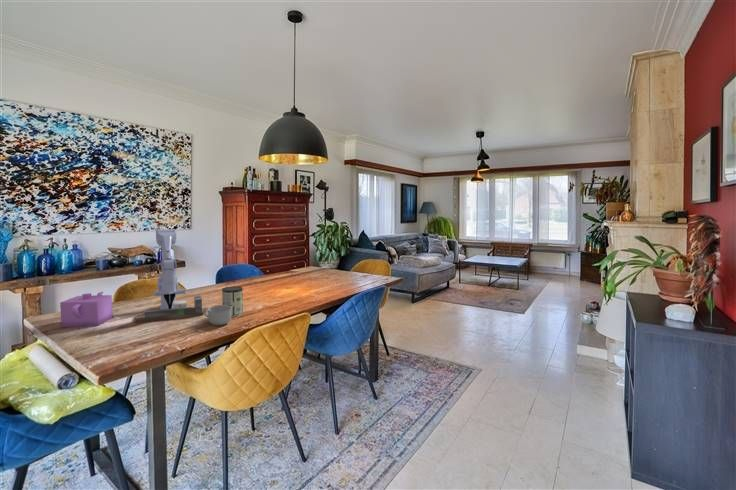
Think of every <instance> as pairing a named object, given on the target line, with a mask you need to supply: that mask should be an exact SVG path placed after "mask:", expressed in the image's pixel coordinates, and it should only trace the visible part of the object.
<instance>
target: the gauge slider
mask: <svg viewBox="0 0 736 490" xmlns="http://www.w3.org/2000/svg"><path fill="white" fill-rule="evenodd" d="M182 308H187V300H176V301H174V302H173V309H182Z"/></svg>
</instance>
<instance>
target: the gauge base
mask: <svg viewBox="0 0 736 490" xmlns="http://www.w3.org/2000/svg"><path fill="white" fill-rule="evenodd" d="M193 297H194V300H193V301H194V305H193V307H191V306H190V307H189V306H188V307H187V306H186V308H182V309H163V310H160V309H158V310H149V311H148V310H147V311H143V312H139V313H136V316H135V320H134V321H135V323H136V324H137V323H147V322H155V321H163V320H173V319H182V318H183V319H184V318H190V317H201V316H204V314H203V310H204V309H203V301H202V300H203V298H202V296H201V294H196V295H193Z"/></svg>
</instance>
